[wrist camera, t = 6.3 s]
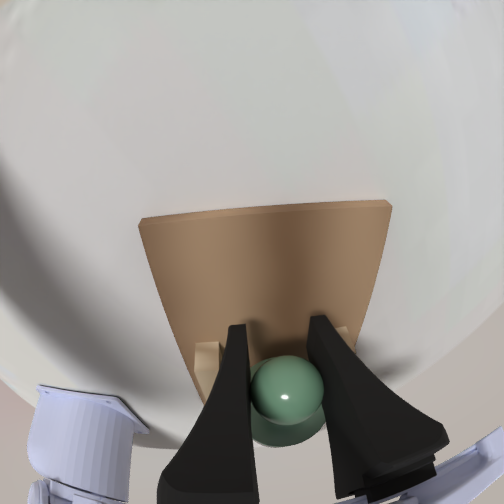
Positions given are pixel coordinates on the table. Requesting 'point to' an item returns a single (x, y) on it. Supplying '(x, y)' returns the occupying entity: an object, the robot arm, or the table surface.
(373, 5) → the table surface
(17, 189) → the table surface
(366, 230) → the rest board
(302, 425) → the bottle
